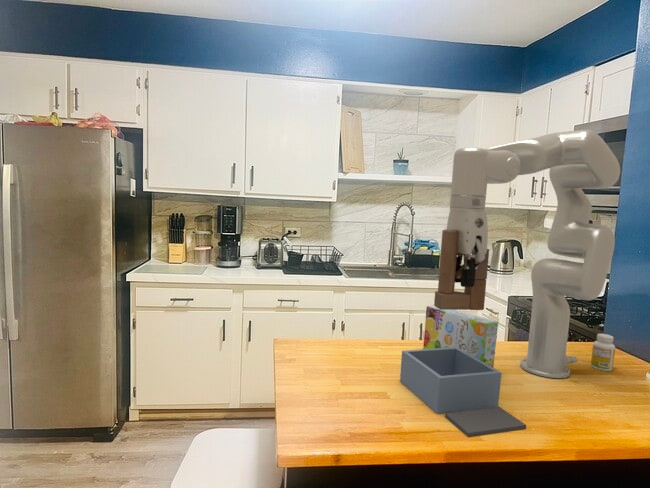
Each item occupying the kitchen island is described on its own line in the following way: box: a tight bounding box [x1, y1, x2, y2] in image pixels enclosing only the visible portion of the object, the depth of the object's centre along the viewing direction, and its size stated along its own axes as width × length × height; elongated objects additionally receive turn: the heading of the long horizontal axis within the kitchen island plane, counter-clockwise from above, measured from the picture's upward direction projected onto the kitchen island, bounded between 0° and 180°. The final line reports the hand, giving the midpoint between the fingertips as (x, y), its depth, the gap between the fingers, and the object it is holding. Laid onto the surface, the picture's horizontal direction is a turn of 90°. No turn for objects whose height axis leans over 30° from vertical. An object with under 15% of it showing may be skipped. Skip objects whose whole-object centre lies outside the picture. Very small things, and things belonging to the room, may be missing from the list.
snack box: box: [422, 304, 499, 369], centre depth 123 cm, size 21×6×15 cm, turn 34°
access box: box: [399, 347, 502, 415], centre depth 103 cm, size 16×17×8 cm
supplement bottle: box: [590, 333, 616, 372], centre depth 125 cm, size 5×5×10 cm
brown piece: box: [433, 229, 490, 311], centre depth 99 cm, size 4×11×18 cm, turn 99°
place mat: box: [444, 406, 527, 438], centre depth 90 cm, size 14×8×1 cm, turn 108°
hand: (461, 283), depth 99 cm, fingers closed on brown piece, 4 cm apart
